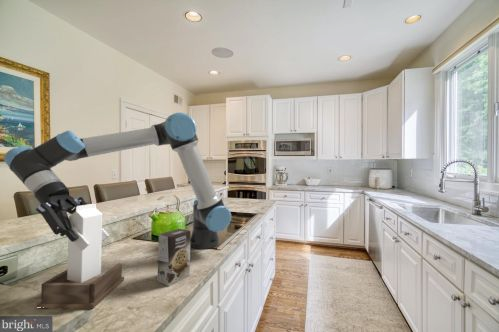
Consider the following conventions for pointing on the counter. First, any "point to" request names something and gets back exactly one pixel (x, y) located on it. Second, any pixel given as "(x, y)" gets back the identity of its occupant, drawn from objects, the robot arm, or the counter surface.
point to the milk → (89, 259)
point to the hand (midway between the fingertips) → (96, 242)
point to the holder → (79, 290)
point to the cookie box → (173, 256)
